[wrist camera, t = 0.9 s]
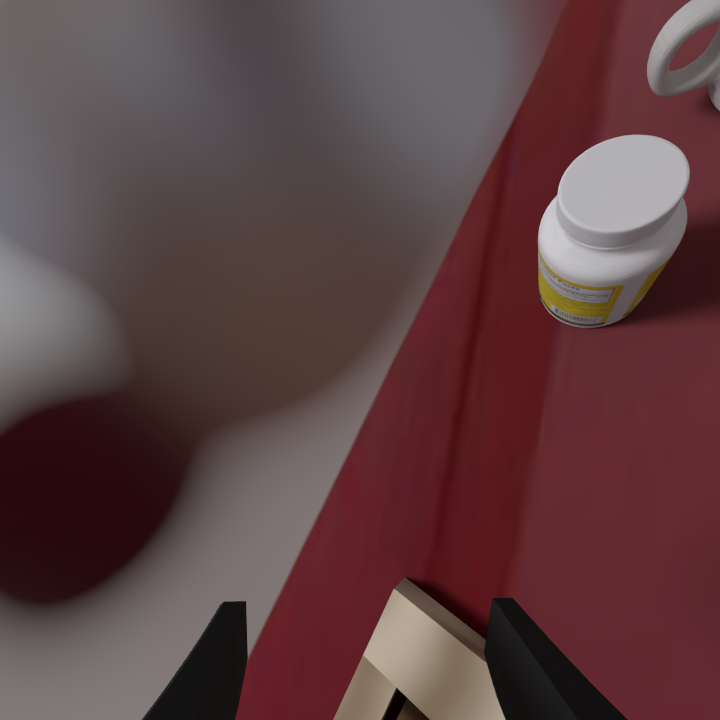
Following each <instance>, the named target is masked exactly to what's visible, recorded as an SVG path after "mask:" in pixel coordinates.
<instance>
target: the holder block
mask: <svg viewBox="0 0 720 720" xmlns="http://www.w3.org/2000/svg"><path fill="white" fill-rule="evenodd" d="M485 642H486V640H485V639H484V638H483V637H481V636H480V635H479V634H478V633H476V632H475V631H474V630H472V629H471V628H470V627H469V626H467V625H466V624H465V623H463V622H462V621H461V620H460V619H458V618H457V617H456V616H454V615H453V614H452V613H450V612H449V611H448V610H447V609H445V608H444V607H443V606H441V605H440V604H439V603H438V602H436V601H435V600H434V599H432V598H431V597H430V596H429V595H427V594H426V593H425V592H423V591H422V590H421V589H419V588H418V587H417V586H416V585H414V584H413V583H412V582H410V581H409V580H408V579H407V578H404V579H403V580H402V581H401V582H400V583H399V584H398V585H397V586H396V587H395V588H394V590H393V592H392V594H391V596H390V598H389V601H388V603H387V605H386V607H385V609H384V611H383V614H382V616H381V618H380V620H379V622H378V624H377V627H376V629H375V631H374V633H373V635H372V637H371V639H370V642H369V644H368V646H367V648H366V650H365V652H364V655H363V657H362V659H361V661H360V663H359V665H358V668H357V670H356V672H355V674H354V676H353V678H352V681H351V683H350V685H349V687H348V689H347V691H346V694H345V696H344V698H343V700H342V702H341V704H340V707H339V709H338V711H337V713H336V715H335V717H334V720H384V718H385V716H386V714H387V711H388V709H389V707H390V705H391V703H392V701H393V698H394V696H395V694H396V692H397V690H398V689H399V690H400V691H401V692H402V693H403V694H404V695H405V696H406V697H407V698H408V699H409V700H410V701H411V702H412V703H413V704H414V705H415V706H416V707H417V708H418V709H419V710H420V711H421V712H422V713H424V714H425V715H426V716H427V717H428V718H429V719H430V720H505V717H504V715H503V712H502V709H501V707H500V704H499V702H498V699H497V696H496V693H495V689H494V686H493V683H492V680H491V676H490V673H489V669H488V666H487V662H486V659H485V655H484V648H485Z"/></svg>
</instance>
